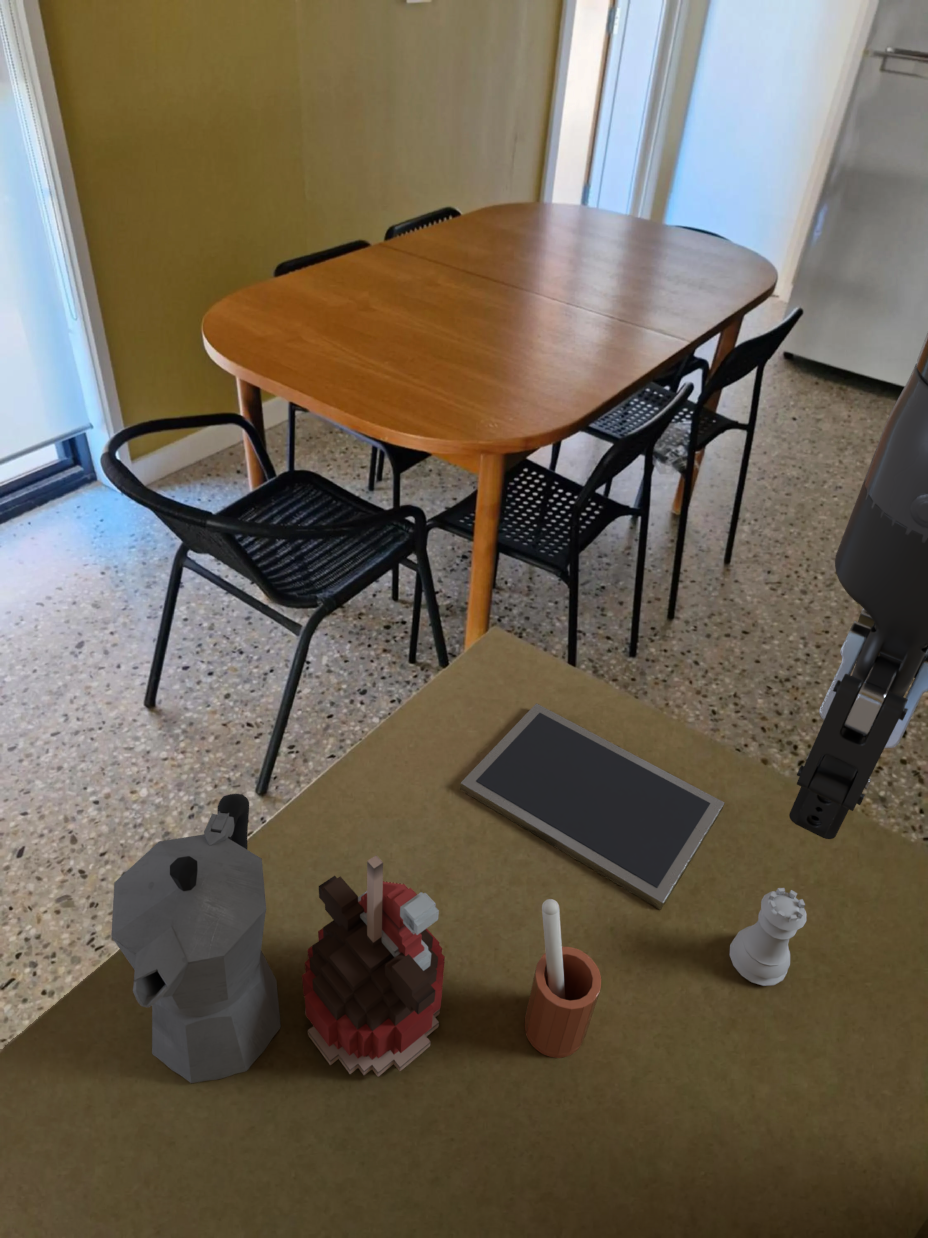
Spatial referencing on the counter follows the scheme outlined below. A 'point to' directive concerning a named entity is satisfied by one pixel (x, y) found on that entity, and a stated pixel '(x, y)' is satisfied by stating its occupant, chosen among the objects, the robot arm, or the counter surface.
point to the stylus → (553, 947)
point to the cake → (374, 975)
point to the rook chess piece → (769, 939)
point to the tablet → (595, 802)
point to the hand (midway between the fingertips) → (837, 772)
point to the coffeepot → (201, 947)
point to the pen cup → (562, 1005)
